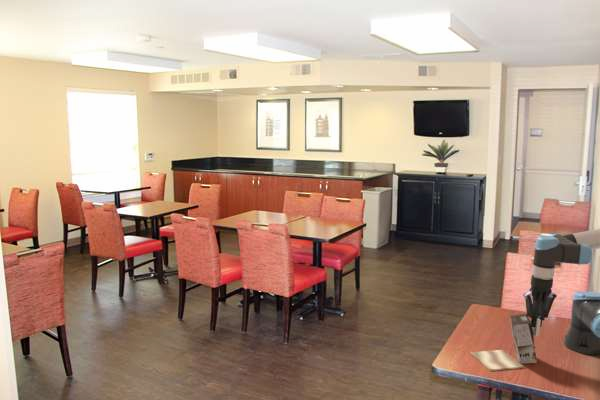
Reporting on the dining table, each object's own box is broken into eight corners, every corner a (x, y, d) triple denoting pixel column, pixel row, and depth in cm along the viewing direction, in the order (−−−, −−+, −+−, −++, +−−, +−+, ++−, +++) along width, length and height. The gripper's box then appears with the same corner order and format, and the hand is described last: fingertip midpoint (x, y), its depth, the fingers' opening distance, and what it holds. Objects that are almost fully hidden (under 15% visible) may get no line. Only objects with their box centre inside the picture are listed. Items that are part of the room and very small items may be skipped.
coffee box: (537, 363, 190) (532, 323, 188) (519, 364, 192) (514, 324, 190) (531, 351, 199) (526, 313, 197) (514, 352, 201) (509, 314, 198)
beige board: (502, 351, 202) (502, 349, 202) (523, 367, 189) (523, 366, 189) (470, 353, 200) (470, 352, 200) (489, 370, 186) (489, 369, 186)
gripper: (551, 273, 196) (543, 329, 200) (521, 273, 194) (514, 331, 198) (564, 279, 189) (556, 338, 193) (533, 280, 186) (525, 339, 191)
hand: (534, 334), depth 195 cm, fingers closed
